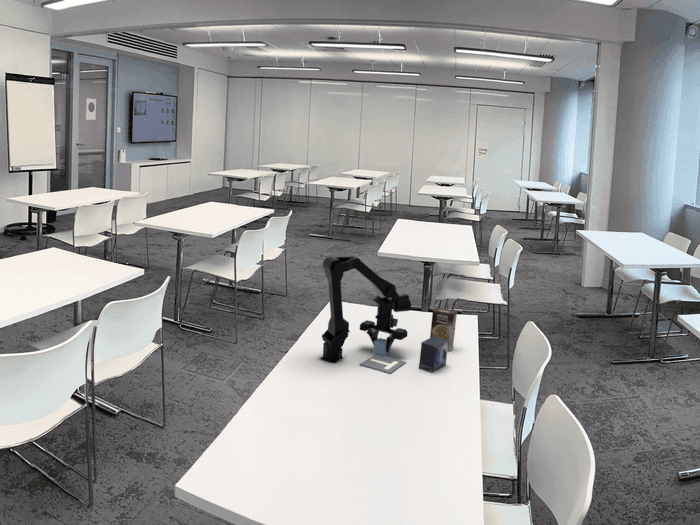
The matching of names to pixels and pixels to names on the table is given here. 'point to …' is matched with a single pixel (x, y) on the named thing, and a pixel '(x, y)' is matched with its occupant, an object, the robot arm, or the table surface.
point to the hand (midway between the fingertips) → (381, 350)
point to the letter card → (383, 363)
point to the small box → (433, 353)
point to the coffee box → (444, 325)
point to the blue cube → (380, 347)
